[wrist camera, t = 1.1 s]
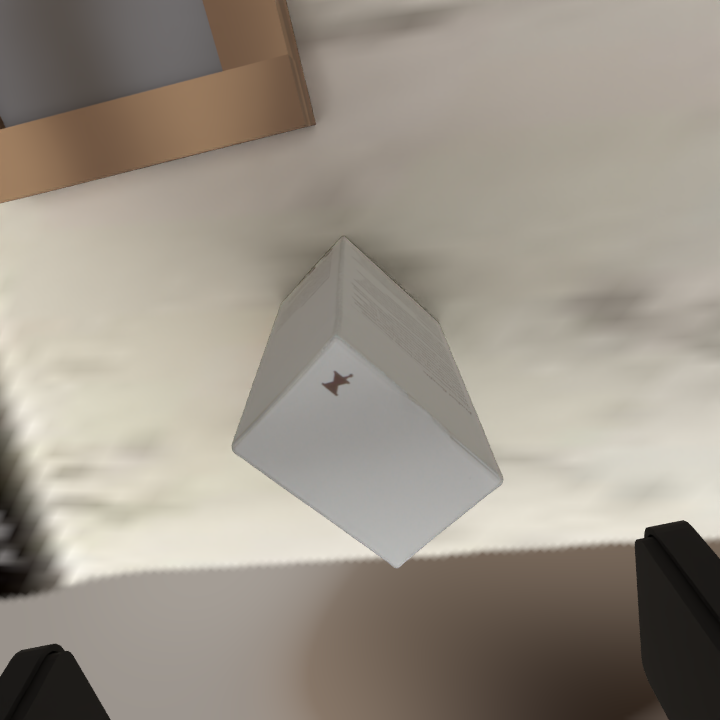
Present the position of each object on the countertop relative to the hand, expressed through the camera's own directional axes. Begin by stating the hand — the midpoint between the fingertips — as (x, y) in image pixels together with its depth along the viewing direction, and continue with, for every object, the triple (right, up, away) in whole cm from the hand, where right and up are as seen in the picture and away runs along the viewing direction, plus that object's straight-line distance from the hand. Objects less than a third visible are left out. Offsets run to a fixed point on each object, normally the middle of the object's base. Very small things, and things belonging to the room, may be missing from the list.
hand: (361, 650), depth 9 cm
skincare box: (0, +7, +16) cm, 18 cm away
